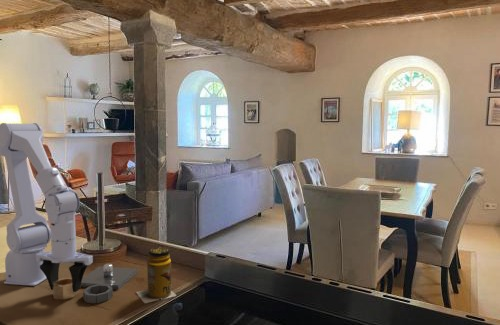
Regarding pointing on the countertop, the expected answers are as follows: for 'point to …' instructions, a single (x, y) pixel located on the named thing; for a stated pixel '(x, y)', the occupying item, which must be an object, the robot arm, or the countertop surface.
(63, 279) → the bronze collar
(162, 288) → the condiment
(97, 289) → the grey octagonal ring
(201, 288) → the countertop surface
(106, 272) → the piston stand
